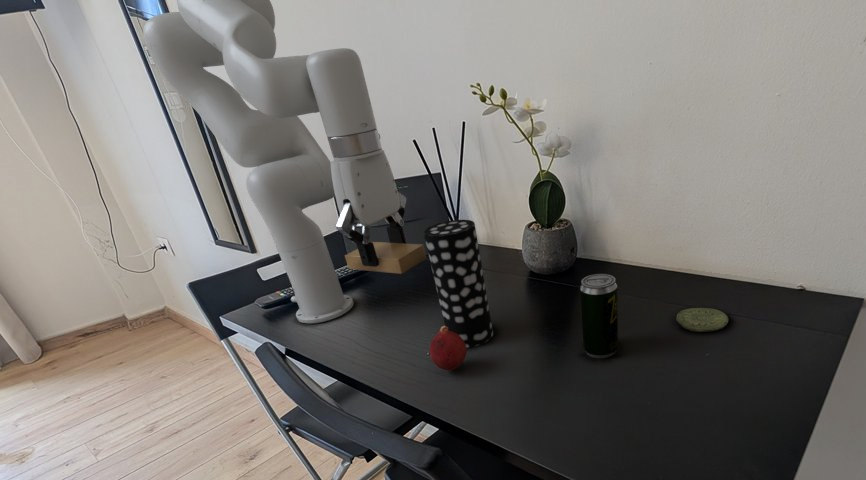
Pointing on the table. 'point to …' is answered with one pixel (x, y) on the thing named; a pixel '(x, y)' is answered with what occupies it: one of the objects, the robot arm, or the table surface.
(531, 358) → the table surface
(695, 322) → the medallion
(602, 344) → the beer can
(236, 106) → the robot arm
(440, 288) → the spotted tube
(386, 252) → the flat wooden block
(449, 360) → the red pomegranate
